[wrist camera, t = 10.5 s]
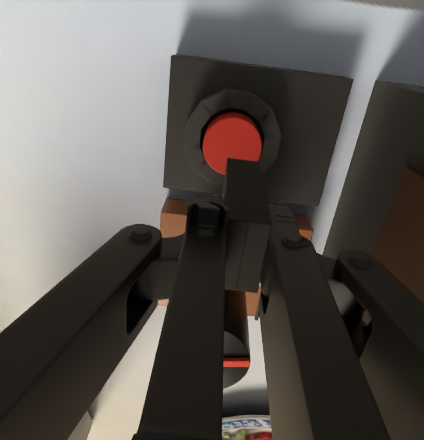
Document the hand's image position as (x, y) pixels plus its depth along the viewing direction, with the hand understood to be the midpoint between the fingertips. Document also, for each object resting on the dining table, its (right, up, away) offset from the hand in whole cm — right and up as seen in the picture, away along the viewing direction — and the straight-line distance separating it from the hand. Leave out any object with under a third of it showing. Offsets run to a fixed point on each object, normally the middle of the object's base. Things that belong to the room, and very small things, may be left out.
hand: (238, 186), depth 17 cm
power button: (0, +4, +8) cm, 9 cm away
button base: (+2, +6, +12) cm, 13 cm away
